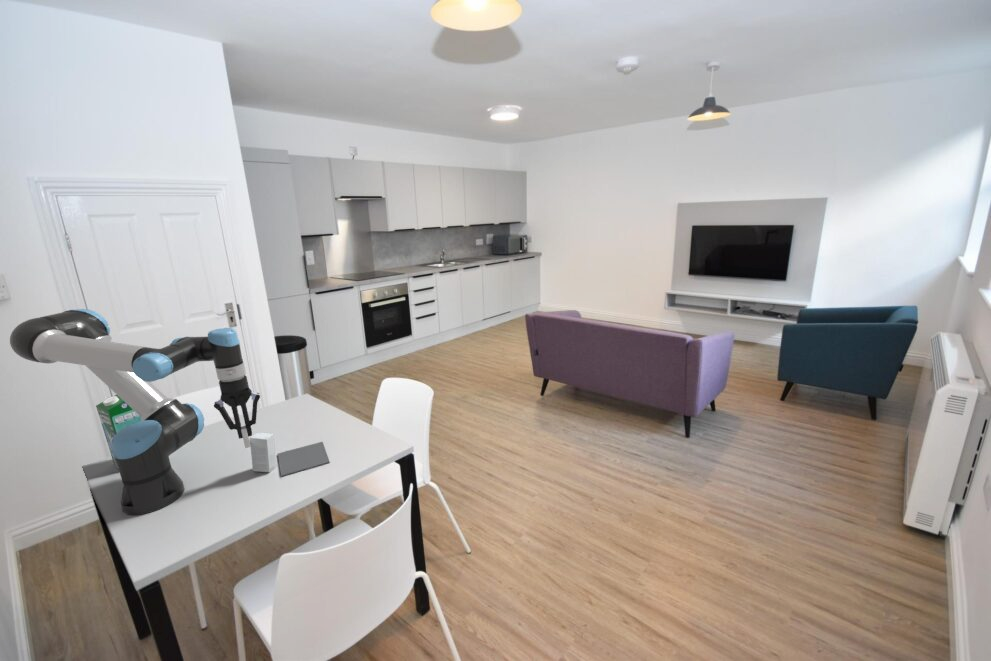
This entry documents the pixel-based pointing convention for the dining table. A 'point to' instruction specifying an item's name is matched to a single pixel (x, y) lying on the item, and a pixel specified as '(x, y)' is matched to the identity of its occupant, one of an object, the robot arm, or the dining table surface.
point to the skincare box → (263, 452)
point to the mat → (302, 458)
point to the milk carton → (115, 418)
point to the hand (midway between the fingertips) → (247, 445)
